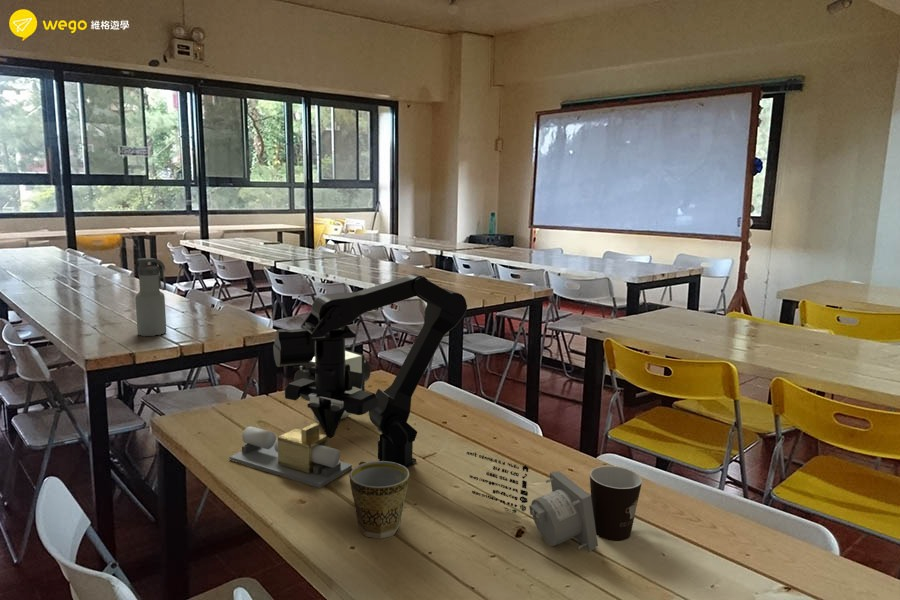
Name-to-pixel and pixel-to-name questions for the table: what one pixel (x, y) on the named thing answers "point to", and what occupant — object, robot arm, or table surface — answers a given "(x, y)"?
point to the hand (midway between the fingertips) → (330, 437)
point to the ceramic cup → (379, 496)
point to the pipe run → (265, 457)
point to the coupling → (300, 447)
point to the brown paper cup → (614, 501)
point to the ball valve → (351, 358)
